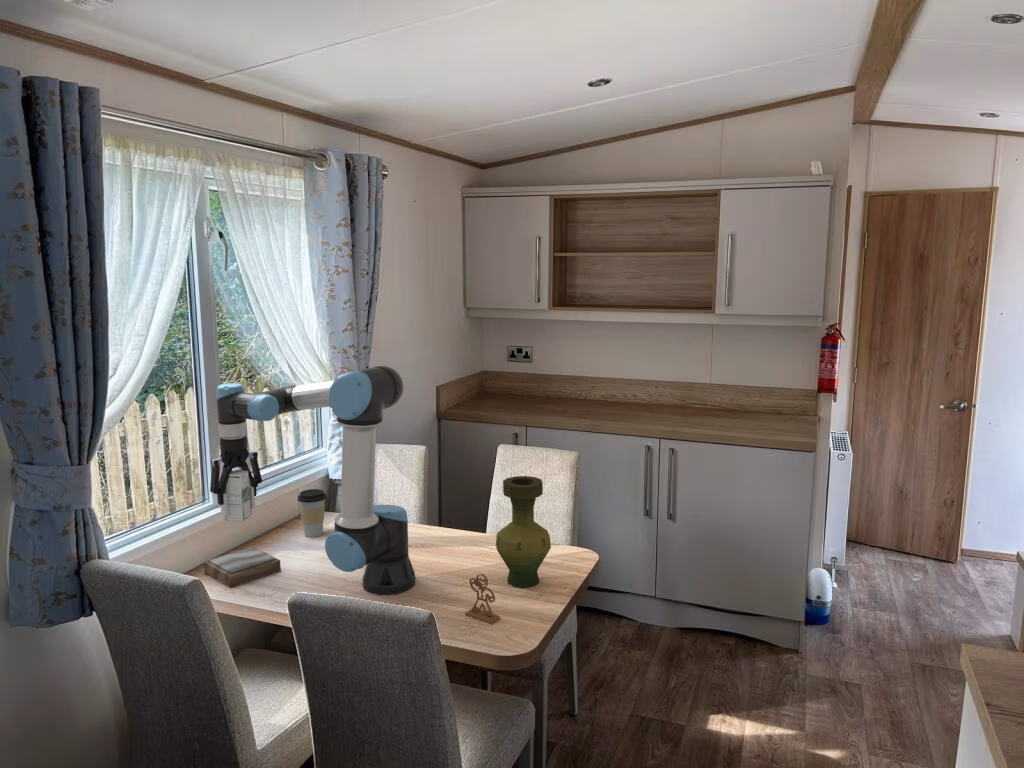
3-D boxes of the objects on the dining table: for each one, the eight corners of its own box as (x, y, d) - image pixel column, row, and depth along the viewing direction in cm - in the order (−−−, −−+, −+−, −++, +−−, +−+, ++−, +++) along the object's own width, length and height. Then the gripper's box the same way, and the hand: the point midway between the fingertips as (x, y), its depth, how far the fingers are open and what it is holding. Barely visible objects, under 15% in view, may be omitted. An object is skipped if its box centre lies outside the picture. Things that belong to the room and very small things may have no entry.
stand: (280, 570, 229) (279, 558, 229) (230, 587, 218) (229, 574, 217) (253, 557, 240) (252, 545, 239) (204, 572, 228) (203, 560, 228)
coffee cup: (299, 531, 263) (296, 489, 260) (327, 528, 265) (325, 487, 263) (300, 541, 254) (297, 497, 251) (329, 537, 256) (326, 495, 254)
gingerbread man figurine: (500, 619, 198) (500, 575, 196) (491, 625, 194) (490, 580, 192) (473, 610, 203) (473, 567, 201) (464, 615, 200) (463, 572, 198)
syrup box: (233, 514, 229) (230, 468, 227) (252, 515, 229) (249, 468, 226) (224, 521, 224) (221, 473, 221) (244, 521, 223) (240, 473, 221)
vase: (488, 574, 225) (486, 477, 221) (538, 566, 231) (537, 471, 226) (507, 597, 210) (506, 493, 205) (560, 587, 216) (560, 486, 211)
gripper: (259, 428, 232) (263, 500, 236) (192, 440, 217) (198, 517, 221) (271, 432, 227) (276, 505, 231) (204, 444, 212) (210, 522, 216)
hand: (238, 510), depth 226 cm, fingers closed on syrup box, 8 cm apart
